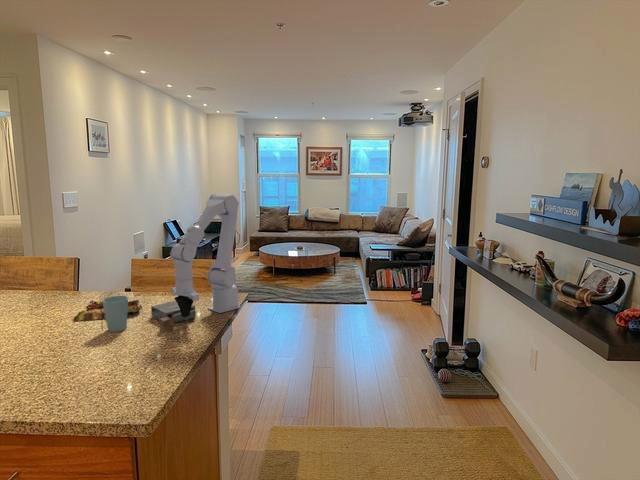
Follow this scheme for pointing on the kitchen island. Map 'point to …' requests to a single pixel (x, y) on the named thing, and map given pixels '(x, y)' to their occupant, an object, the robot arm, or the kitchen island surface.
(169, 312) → the shiny gray metal block
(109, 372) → the kitchen island surface
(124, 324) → the cup
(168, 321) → the brown cardboard cube
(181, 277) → the robot arm
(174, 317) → the tray
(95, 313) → the crumpled patterned cloth
